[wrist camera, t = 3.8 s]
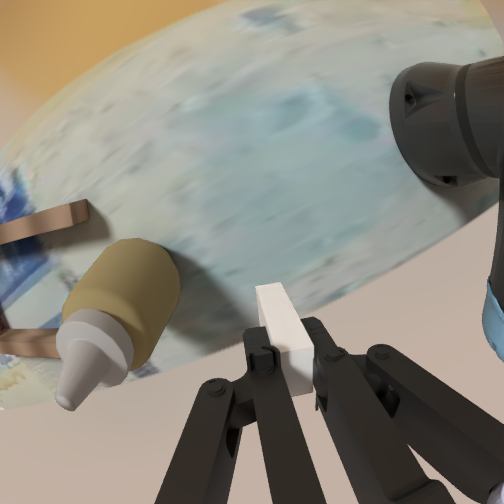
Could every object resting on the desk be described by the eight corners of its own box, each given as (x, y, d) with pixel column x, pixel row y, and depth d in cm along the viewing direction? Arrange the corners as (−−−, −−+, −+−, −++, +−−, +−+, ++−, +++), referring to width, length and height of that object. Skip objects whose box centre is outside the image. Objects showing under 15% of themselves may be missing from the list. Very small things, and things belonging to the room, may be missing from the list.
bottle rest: (86, 198, 23) (69, 203, 20) (124, 340, 28) (115, 358, 25) (-32, 237, 22) (-48, 244, 18) (2, 340, 26) (-9, 352, 23)
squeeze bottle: (165, 318, 28) (125, 467, 10) (99, 282, 26) (3, 398, 9) (200, 254, 26) (174, 395, 9) (127, 213, 24) (-1, 290, 7)
